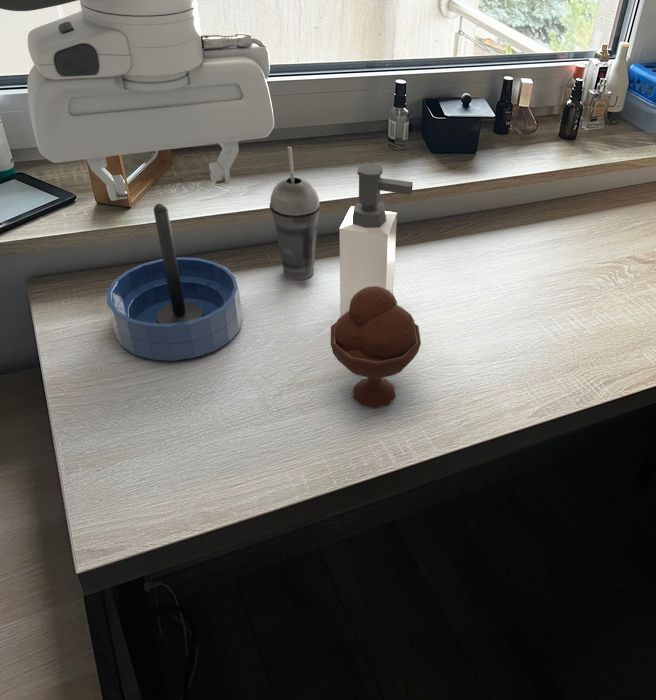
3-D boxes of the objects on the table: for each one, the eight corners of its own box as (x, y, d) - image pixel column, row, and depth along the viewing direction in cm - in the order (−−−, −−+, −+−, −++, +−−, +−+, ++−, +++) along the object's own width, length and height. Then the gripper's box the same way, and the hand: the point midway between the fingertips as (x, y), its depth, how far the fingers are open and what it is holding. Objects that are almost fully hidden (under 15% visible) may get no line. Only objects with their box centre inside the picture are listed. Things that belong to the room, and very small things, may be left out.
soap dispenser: (400, 325, 104) (408, 185, 91) (340, 316, 105) (339, 175, 91) (408, 300, 109) (416, 164, 96) (351, 292, 110) (351, 155, 96)
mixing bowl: (116, 372, 91) (106, 334, 87) (115, 300, 102) (106, 264, 99) (249, 352, 96) (245, 316, 93) (234, 286, 108) (230, 251, 104)
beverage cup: (283, 289, 108) (274, 164, 96) (268, 264, 113) (258, 142, 101) (329, 280, 112) (326, 157, 99) (313, 256, 116) (308, 137, 104)
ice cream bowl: (313, 402, 90) (309, 303, 81) (364, 355, 98) (365, 261, 89) (385, 435, 87) (389, 337, 78) (431, 384, 95) (440, 290, 86)
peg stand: (158, 339, 96) (133, 218, 85) (156, 313, 100) (132, 194, 89) (206, 332, 98) (187, 213, 87) (202, 307, 102) (184, 191, 91)
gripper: (255, 22, 67) (266, 161, 76) (5, 34, 58) (49, 191, 67) (279, 42, 63) (287, 187, 72) (13, 58, 54) (59, 222, 63)
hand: (171, 189), depth 69 cm, fingers open, 8 cm apart
